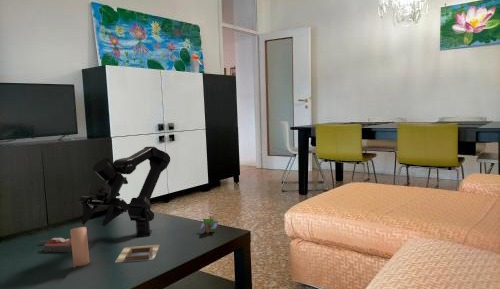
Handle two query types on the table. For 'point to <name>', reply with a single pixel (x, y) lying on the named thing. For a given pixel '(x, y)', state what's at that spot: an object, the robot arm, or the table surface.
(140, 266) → the table surface
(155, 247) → the tan flat square frame
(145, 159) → the robot arm
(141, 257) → the walnut socket
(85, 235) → the terracotta column
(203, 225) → the geometric puzzle
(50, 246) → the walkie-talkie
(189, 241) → the table surface
